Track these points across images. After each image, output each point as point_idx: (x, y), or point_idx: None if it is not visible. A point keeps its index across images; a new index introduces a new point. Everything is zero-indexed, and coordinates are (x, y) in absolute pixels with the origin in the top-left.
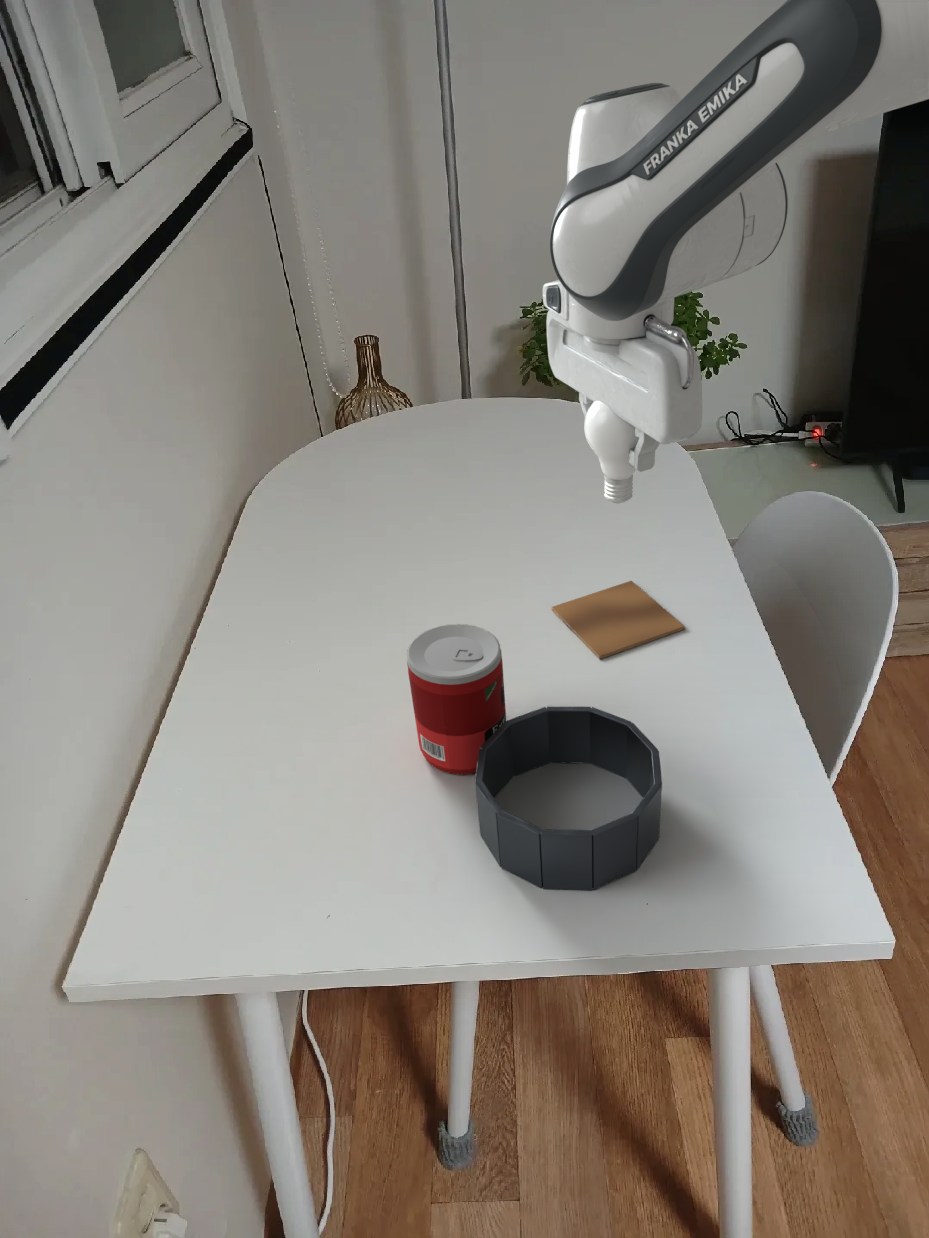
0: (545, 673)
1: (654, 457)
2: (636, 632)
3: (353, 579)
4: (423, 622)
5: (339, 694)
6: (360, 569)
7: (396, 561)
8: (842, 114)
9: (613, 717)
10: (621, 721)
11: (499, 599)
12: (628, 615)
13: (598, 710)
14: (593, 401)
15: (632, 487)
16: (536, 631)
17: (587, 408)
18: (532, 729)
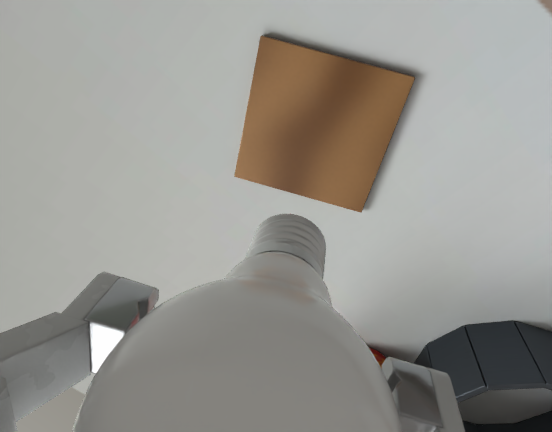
0: (329, 264)
1: (457, 404)
2: (365, 141)
3: (44, 275)
4: (162, 280)
5: None
6: (27, 259)
7: (27, 225)
8: None
9: (520, 385)
10: (533, 386)
11: (172, 200)
12: (327, 117)
13: (497, 386)
14: (14, 426)
15: (315, 240)
16: (259, 217)
17: (30, 407)
18: None
